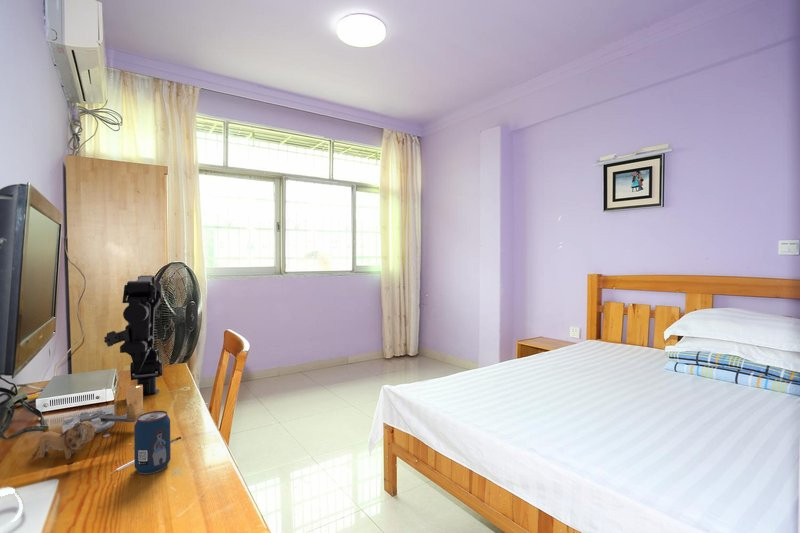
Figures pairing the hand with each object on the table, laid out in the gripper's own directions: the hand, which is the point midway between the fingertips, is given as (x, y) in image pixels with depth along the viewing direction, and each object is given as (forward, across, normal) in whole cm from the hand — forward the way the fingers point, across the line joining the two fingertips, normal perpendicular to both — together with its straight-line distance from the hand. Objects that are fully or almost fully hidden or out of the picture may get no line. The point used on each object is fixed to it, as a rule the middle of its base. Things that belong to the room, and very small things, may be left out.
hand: (137, 371), depth 121 cm
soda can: (+15, +39, +10) cm, 43 cm away
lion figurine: (+15, +26, -10) cm, 32 cm away
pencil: (+15, +32, +8) cm, 36 cm away
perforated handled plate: (+12, +14, -5) cm, 19 cm away
